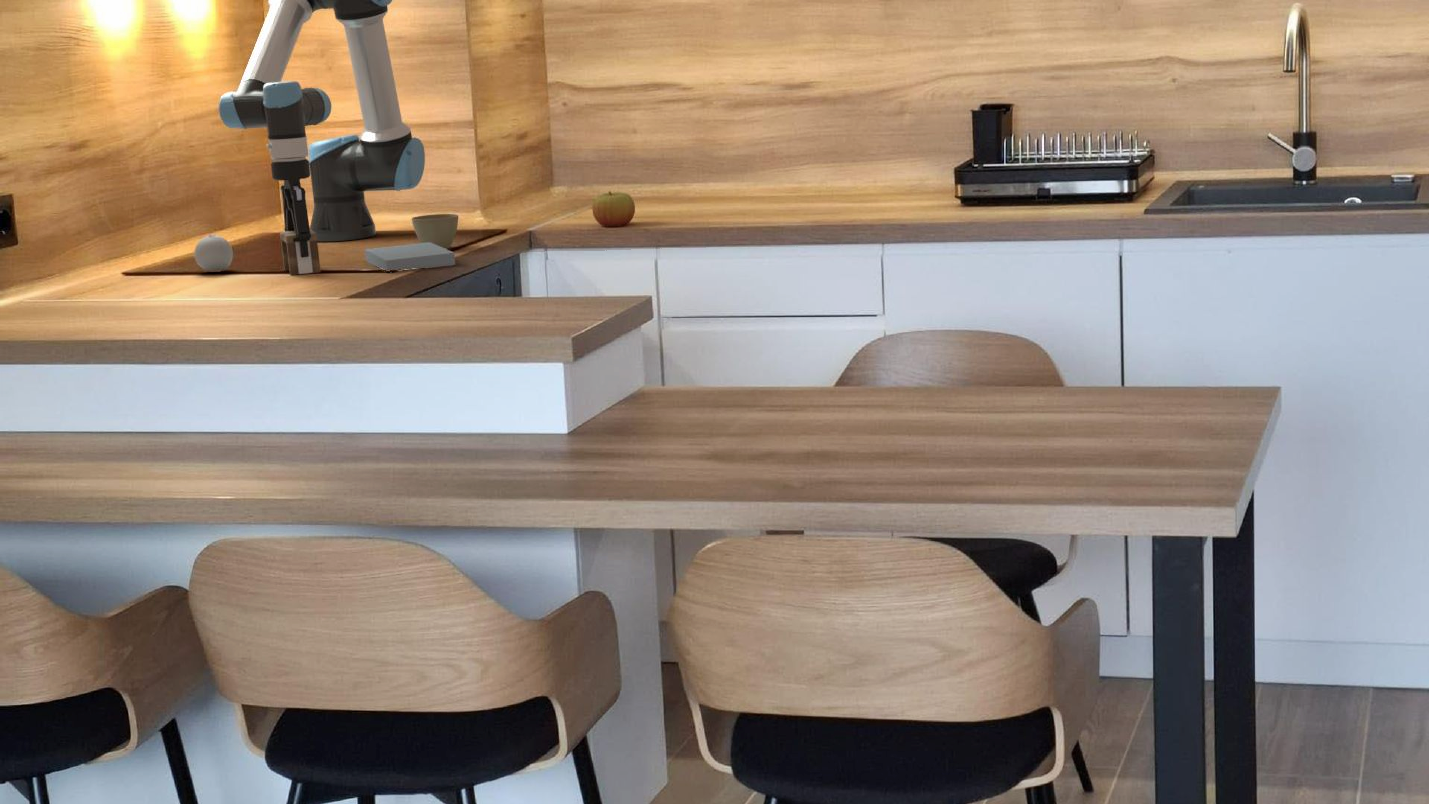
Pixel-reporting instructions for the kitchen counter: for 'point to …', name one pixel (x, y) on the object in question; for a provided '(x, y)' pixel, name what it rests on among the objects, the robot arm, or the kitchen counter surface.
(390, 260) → the plinth
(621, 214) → the apple
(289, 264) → the stool
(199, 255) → the grey ball
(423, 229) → the flower pot
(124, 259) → the kitchen counter surface
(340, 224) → the robot arm
